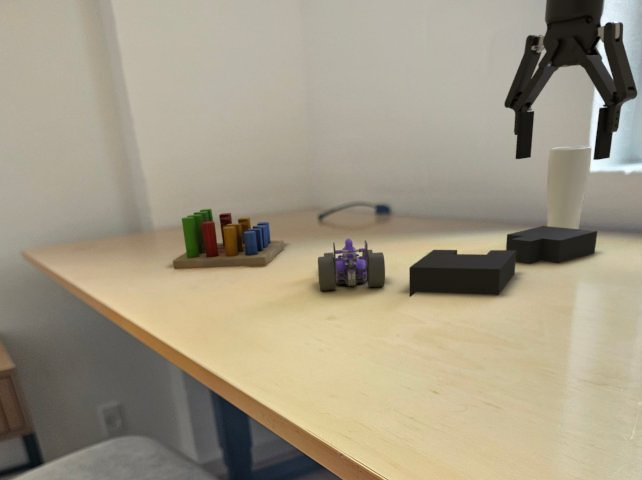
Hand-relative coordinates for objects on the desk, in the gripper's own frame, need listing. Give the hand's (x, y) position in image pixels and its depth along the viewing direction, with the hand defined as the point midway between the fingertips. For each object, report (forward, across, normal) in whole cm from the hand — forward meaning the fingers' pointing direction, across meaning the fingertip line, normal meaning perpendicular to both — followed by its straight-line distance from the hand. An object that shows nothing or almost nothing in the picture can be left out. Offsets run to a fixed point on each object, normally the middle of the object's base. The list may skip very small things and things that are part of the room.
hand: (560, 158), depth 98 cm
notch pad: (+15, +2, -22) cm, 26 cm away
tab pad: (+15, 0, -1) cm, 15 cm away
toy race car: (+15, -15, -29) cm, 36 cm away
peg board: (+15, -48, -32) cm, 59 cm away
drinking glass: (+15, -9, +15) cm, 23 cm away
